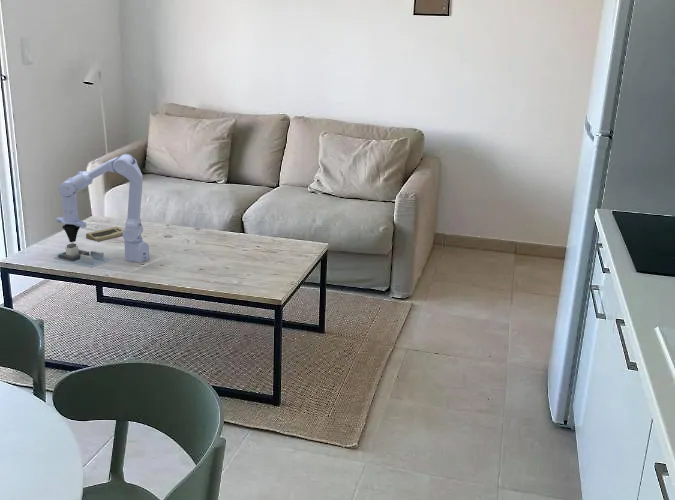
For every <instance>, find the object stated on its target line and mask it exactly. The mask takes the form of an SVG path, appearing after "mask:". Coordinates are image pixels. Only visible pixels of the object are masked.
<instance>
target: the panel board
mask: <svg viewBox="0 0 675 500" xmlns="http://www.w3.org/2000/svg"><path fill="white" fill-rule="evenodd" d="M89 256H91V253H89ZM53 259H54V260H58V261H62V262H66V263H70V264H75V265H79V266H83V267H87V268H90V269H93V268H96V267H98V266H100V265H102V264H105V263H108V262H110V261H112V260H113V258H110V257H106V256H104V260H97V259H93V263H94V264H92V265H91V264H87V263H83V262H81V261H80V259H78V260H76V261H69V260H65V259H61V258H59V257H58V256H56V257H53Z"/></svg>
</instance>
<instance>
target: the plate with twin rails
mask: <svg viewBox="0 0 675 500" xmlns="http://www.w3.org/2000/svg"><path fill="white" fill-rule="evenodd" d="M90 254H91V256H87V255H80V261H81V262H83V263H87V264H91V265H92V264H94V263H93V259H97V260H104V257H105V255H104V252H100V251H96V250H90Z"/></svg>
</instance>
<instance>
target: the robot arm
mask: <svg viewBox="0 0 675 500" xmlns="http://www.w3.org/2000/svg"><path fill="white" fill-rule="evenodd" d="M108 172H111V173H117V174H119V175H121V176H122V177H124V178H125V179H127V180H128V181H129V188H128V201H127V203H128V205H127V215H126V217H127V218H126V222H125V226H124V227H125V228H124V229H123V230H124V231H123V234H122V235H123V236H122V238H123V243H124V255H125V256H124V257H125V261H128V262H133V263H134V262H135V263H140V264H141V263H143V262H145V261H147V260H150V247H149V243H147V242H145V241H144V240H143V238H142V234H143V232H144V227H143V225H142V218H141V209H142V208H141V207H142V195H143V181H144V180H143V179H144V177H143V173H142V172H141V169H140V167H139V165H138V160H136V158H135V157H133V156H132V155H131V154H129V153H123V154H121V155H120V156H116V157H113V158H111V159H109V160H107V161H105V162H104V163H102V164H100V165H98V166H96V167H95V168H94V169H92V170H90V171H86V170H85V171H84V170H83V171H81V170H80V171H78V172H77V174H76V175H74V176H72V177H68V178H67V179H66V180H65V181H63V182H61V184H60V185H59V186H58V192H59V194H60V195H61V205H62V207H61V208H62V216H59V217H55V220H56V223H57V224H59V223H61V224H62V227H61V228H62V229H63V231H65V233H66V236H67V239H68V241H69V243H75V242H77V236H78V233H79V230H80V228H81V229H84V228H87V222H86V221H83V220H81V219H79V212H78V201H77V200H78V199H77V198H78V197H77V192H78V191H81V190H82V189H84V188H86V187H87V186H90V185H91V184H93V180H94V179H96V178H98V177H100V176H101V175H103V174H105V173H108Z"/></svg>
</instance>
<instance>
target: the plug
mask: <svg viewBox="0 0 675 500" xmlns="http://www.w3.org/2000/svg"><path fill="white" fill-rule="evenodd" d="M78 249H79V246H78V245H77V243H75V242H70V243H69V244H66V246H65V252H66V255H69V256H75V255H78V254H79V251H78Z"/></svg>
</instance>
